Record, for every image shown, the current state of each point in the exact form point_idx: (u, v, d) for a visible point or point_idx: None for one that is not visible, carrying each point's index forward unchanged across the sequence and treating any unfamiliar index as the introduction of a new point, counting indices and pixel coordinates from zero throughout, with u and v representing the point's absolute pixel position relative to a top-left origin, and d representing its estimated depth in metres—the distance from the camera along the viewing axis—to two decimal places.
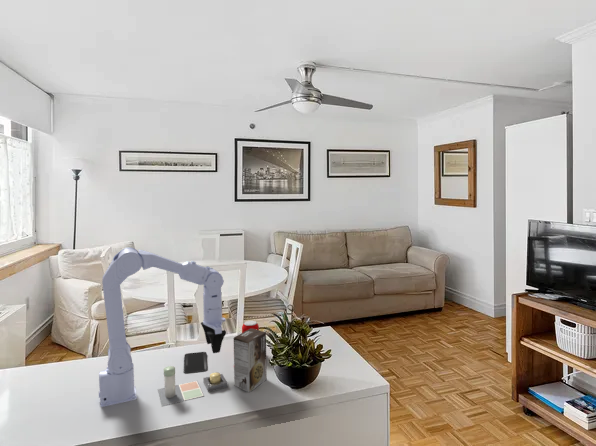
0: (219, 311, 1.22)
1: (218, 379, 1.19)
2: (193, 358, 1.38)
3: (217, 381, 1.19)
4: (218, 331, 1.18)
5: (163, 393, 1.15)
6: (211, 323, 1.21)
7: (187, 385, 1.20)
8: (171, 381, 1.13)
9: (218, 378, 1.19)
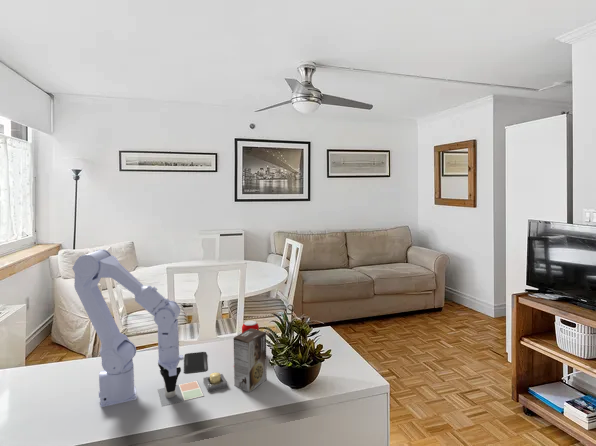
0: (175, 349, 1.12)
1: (218, 379, 1.19)
2: (193, 358, 1.38)
3: (217, 381, 1.19)
4: (172, 373, 1.07)
5: (163, 393, 1.15)
6: (166, 363, 1.10)
7: (187, 385, 1.20)
8: None
9: (218, 378, 1.19)
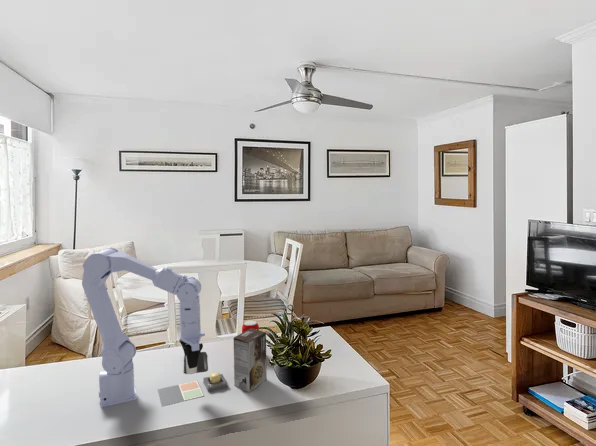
0: (197, 325, 1.11)
1: (218, 379, 1.19)
2: None
3: (217, 381, 1.19)
4: (195, 348, 1.07)
5: (163, 393, 1.15)
6: (188, 338, 1.10)
7: (187, 385, 1.20)
8: None
9: (218, 378, 1.19)
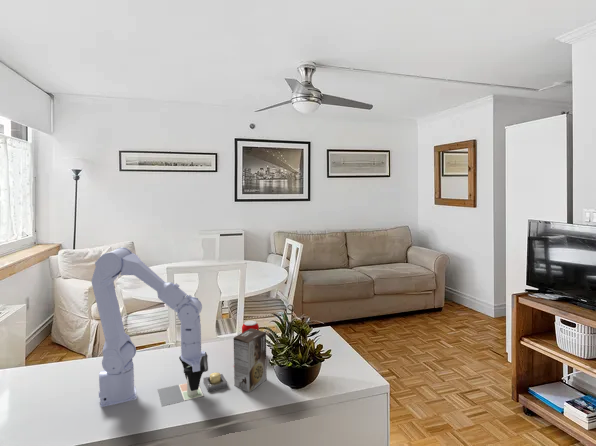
0: (198, 345, 1.12)
1: (218, 379, 1.19)
2: None
3: (217, 381, 1.19)
4: (196, 369, 1.07)
5: (163, 393, 1.15)
6: (189, 359, 1.11)
7: None
8: None
9: (218, 378, 1.19)
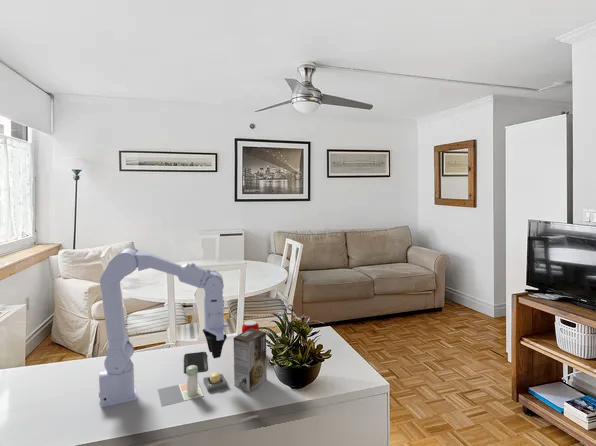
0: (221, 316, 1.17)
1: (218, 379, 1.19)
2: (192, 358, 1.38)
3: (217, 381, 1.19)
4: (220, 337, 1.12)
5: (163, 393, 1.15)
6: (212, 329, 1.16)
7: None
8: (194, 380, 1.13)
9: (218, 378, 1.19)
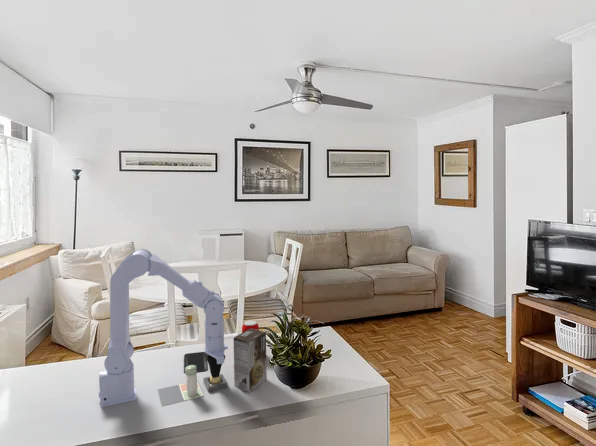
0: (221, 339, 1.18)
1: (218, 380, 1.19)
2: (192, 358, 1.38)
3: (217, 382, 1.19)
4: (220, 361, 1.13)
5: (163, 393, 1.15)
6: (213, 352, 1.16)
7: None
8: (193, 379, 1.13)
9: (218, 379, 1.19)
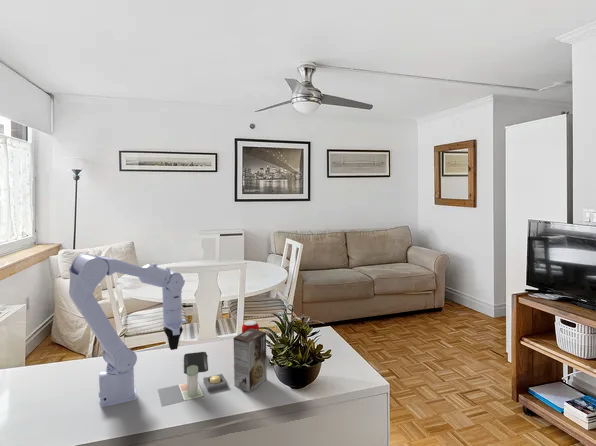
0: (178, 312, 1.23)
1: (218, 382, 1.19)
2: (192, 358, 1.38)
3: None
4: (176, 332, 1.18)
5: (163, 393, 1.15)
6: (170, 324, 1.22)
7: None
8: (195, 380, 1.13)
9: (218, 381, 1.19)
